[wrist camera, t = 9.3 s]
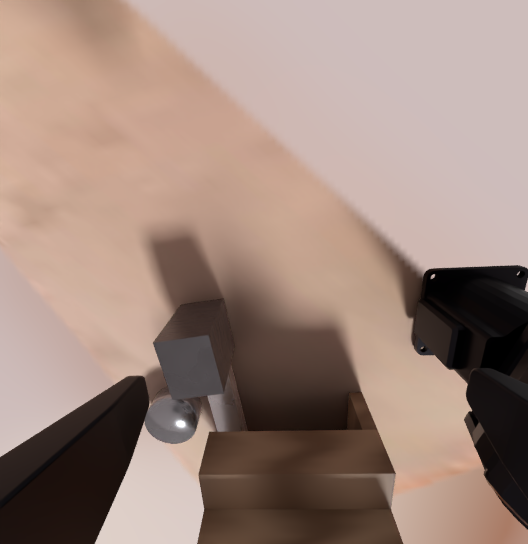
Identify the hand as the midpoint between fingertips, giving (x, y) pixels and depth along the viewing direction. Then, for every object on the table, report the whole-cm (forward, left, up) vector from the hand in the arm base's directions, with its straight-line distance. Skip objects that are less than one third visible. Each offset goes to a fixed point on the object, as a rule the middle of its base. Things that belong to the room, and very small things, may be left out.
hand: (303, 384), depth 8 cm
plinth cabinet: (0, +14, -12) cm, 18 cm away
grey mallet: (+5, +9, -12) cm, 16 cm away
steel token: (+9, +12, -12) cm, 19 cm away
